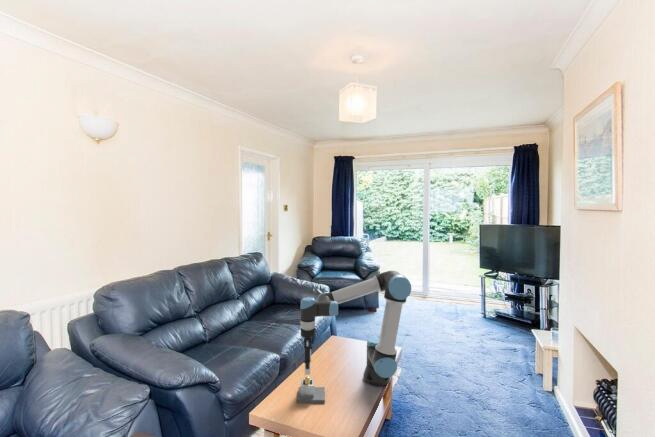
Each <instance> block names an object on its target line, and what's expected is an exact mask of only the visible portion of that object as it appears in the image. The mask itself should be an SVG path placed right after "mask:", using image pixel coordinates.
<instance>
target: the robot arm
mask: <svg viewBox="0 0 655 437" xmlns="http://www.w3.org/2000/svg"><path fill="white" fill-rule="evenodd" d="M376 292H379V293H381V292H384V293H383V294H384V295H383V297H384V300H385V305H384V311H383V318H382V324H381V327H380V328H381V329H380V333H379V334H380V335H379V338H370V339H367V342H366V366H365V369H364V371H363V376H362V377H363V378H362V379H363V381H364V382H365V383H366V384H367V385H369V386H374V387H384V386H386V385H389V383H390V382H391V377H392V376H394V375H395V374H396V372H397V370H398V363H397V361H396V359H397V354H398V352H397V351H398V350H397V349H396V342H397V336H398V332H399V325H400V319H401V315H402V309H403V305H404V304H405V303H406V302H407V298H408V297H409V296H410V295H411V293H412V285H411V282H410V281H409V279H408V278H407V277H406V276H405V275H402V274H401V273H399V272H398V271H396V270H387V271H384V272H381V273H377V274H375V275H374V276H373V277H372V278H369V279H366V280H364V281H360V282H357V283H355V284H351V285H349V286H345V287H342V288H339V289H337V290H334V291H330V292H328V293H327V292H321V293H320V294H318V297H317V301H316V299H315V298H314V297H313V296H311V297H309V296H307V297H303V298H301V299H300V306H299V307H300V309H299V310H300V321H299V323H298V324H300V337H302V338H303V344H304V347H303V348H304V360H303V363H304V376H309V375H311V362H312V350H313V346H312V343H313V340H312V339H313V337H315V335H316V318H317V317H318V318H319V317H336V316H338V315H339V305H341V304H343V303H345V302H349V301H352V300H356V299H358V298H360V297H363V296H367V295H369V294H372V293H376Z"/></svg>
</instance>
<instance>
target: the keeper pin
mask: <svg viewBox="0 0 655 437" xmlns="http://www.w3.org/2000/svg"><path fill="white" fill-rule="evenodd" d="M304 379H305V385H310V379H311V378H310V376H306V377H305V378H304Z"/></svg>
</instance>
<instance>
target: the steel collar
mask: <svg viewBox="0 0 655 437" xmlns="http://www.w3.org/2000/svg"><path fill="white" fill-rule="evenodd" d="M299 387H300V397H314V387H315V378H310V385H305V378H301V379H300V385H299Z"/></svg>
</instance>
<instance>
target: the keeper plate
mask: <svg viewBox="0 0 655 437" xmlns="http://www.w3.org/2000/svg"><path fill="white" fill-rule="evenodd" d="M325 397H326V391H325V386H314V397H300V386H299V387H298V391H297V399H296V403H297V404H325V403H326V400H325V399H326V398H325Z"/></svg>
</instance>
